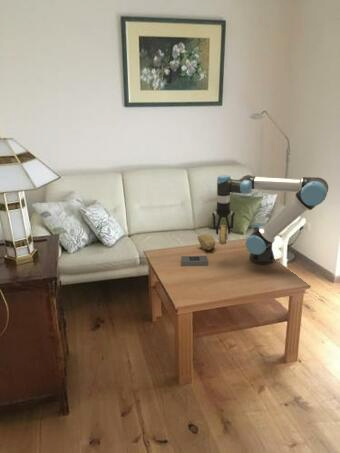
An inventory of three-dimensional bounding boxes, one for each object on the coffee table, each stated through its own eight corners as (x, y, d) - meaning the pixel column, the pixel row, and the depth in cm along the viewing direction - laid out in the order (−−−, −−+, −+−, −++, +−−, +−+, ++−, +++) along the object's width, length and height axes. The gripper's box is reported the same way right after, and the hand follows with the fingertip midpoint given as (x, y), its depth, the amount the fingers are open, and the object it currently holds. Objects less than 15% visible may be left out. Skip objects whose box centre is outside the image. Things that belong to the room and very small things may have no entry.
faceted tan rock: (200, 245, 252) (191, 242, 243) (208, 232, 250) (199, 228, 241) (215, 256, 243) (206, 254, 234) (224, 243, 241) (215, 239, 232)
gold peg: (225, 241, 222) (226, 224, 218) (226, 244, 217) (227, 227, 214) (218, 242, 222) (218, 225, 218) (219, 244, 217) (219, 227, 214)
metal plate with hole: (206, 259, 228) (206, 255, 227) (208, 265, 219) (208, 261, 219) (181, 259, 228) (181, 256, 227) (181, 265, 220) (181, 262, 219)
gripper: (237, 199, 215) (236, 236, 222) (207, 200, 215) (207, 237, 222) (239, 203, 208) (238, 241, 215) (209, 203, 208) (209, 241, 215)
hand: (222, 239), depth 219 cm, fingers closed on gold peg, 4 cm apart
